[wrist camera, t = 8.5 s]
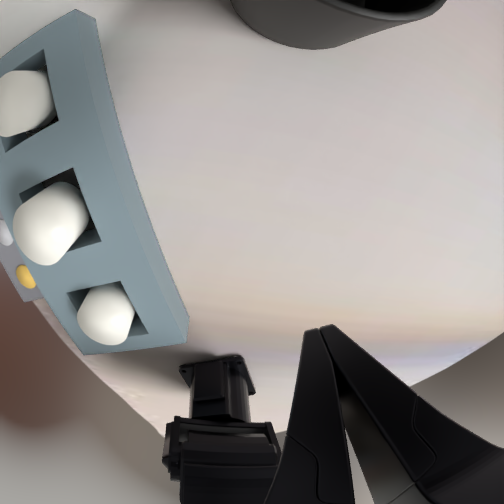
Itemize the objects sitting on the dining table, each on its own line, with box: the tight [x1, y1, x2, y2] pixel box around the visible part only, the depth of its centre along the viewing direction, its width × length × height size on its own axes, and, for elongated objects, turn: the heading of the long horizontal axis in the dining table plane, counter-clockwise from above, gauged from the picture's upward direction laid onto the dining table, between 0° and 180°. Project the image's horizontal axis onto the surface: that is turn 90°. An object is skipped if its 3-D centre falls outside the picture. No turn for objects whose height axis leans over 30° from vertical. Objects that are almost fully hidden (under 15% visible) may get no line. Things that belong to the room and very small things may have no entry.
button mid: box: [13, 182, 89, 265], centre depth 15 cm, size 4×4×4 cm
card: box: [0, 210, 44, 302], centre depth 18 cm, size 14×5×1 cm, turn 12°
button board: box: [0, 9, 189, 355], centre depth 17 cm, size 24×10×3 cm, turn 12°
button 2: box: [77, 281, 136, 345], centre depth 20 cm, size 4×4×4 cm
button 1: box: [0, 71, 57, 137], centre depth 12 cm, size 4×4×4 cm
